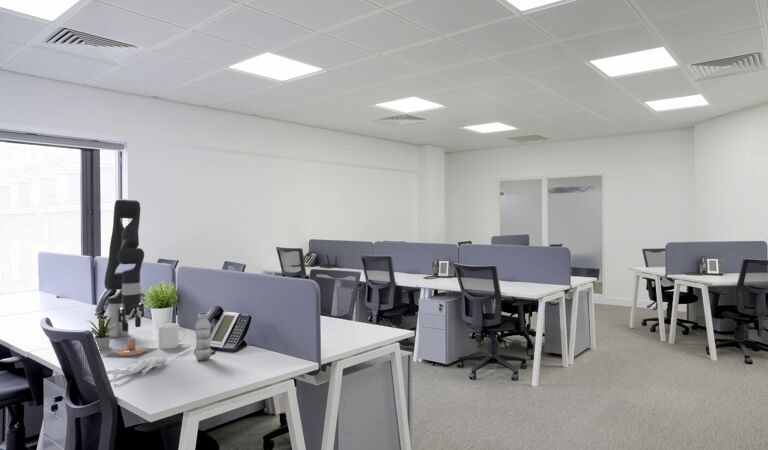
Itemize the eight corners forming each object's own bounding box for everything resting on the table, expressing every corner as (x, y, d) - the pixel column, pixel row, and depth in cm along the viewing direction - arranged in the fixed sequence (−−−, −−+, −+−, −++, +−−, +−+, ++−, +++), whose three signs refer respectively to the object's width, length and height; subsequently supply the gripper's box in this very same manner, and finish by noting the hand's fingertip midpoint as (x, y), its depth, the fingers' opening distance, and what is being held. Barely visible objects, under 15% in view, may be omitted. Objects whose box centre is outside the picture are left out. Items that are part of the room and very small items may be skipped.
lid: (109, 355, 208) (109, 341, 208) (128, 348, 220) (128, 335, 220) (135, 356, 207) (134, 342, 207) (152, 349, 218) (152, 335, 218)
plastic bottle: (214, 358, 207) (214, 312, 207) (203, 362, 201) (203, 315, 201) (202, 356, 210) (202, 311, 209) (191, 361, 203) (191, 314, 203)
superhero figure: (117, 388, 174) (175, 370, 197) (118, 372, 174) (176, 356, 196) (98, 379, 180) (156, 362, 202) (99, 364, 179) (157, 349, 202)
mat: (102, 358, 207) (102, 357, 207) (127, 348, 222) (127, 347, 222) (136, 360, 204) (136, 358, 204) (158, 350, 220) (158, 348, 220)
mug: (188, 346, 227) (188, 323, 227) (163, 351, 218) (163, 328, 218) (180, 343, 233) (180, 321, 233) (155, 348, 224) (155, 325, 224)
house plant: (129, 348, 224) (128, 313, 224) (100, 355, 211) (100, 318, 211) (109, 344, 230) (108, 310, 230) (80, 351, 217) (80, 316, 217)
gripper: (134, 290, 221) (134, 325, 221) (112, 295, 207) (112, 332, 207) (149, 290, 220) (149, 325, 220) (128, 295, 206) (128, 332, 206)
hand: (131, 329), depth 213 cm, fingers open, 8 cm apart
